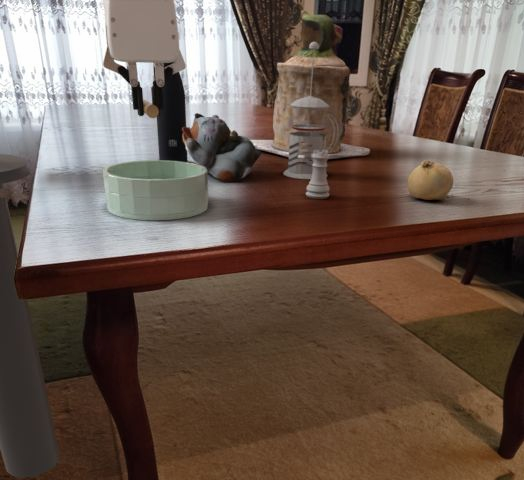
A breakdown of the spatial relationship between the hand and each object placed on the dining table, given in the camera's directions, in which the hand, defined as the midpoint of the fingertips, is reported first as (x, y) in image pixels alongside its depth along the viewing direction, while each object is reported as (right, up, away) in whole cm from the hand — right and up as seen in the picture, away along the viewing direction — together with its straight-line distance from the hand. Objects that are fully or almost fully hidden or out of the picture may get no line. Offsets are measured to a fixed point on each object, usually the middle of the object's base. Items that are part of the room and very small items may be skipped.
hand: (148, 114), depth 81 cm
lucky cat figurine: (+9, 0, +29) cm, 31 cm away
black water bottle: (-3, +6, +40) cm, 41 cm away
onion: (+48, -9, +16) cm, 52 cm away
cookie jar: (+30, +16, +59) cm, 68 cm away
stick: (+1, 0, 0) cm, 1 cm away
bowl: (0, -13, +6) cm, 14 cm away
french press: (+28, +1, +33) cm, 43 cm away
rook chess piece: (+28, -8, +16) cm, 33 cm away
